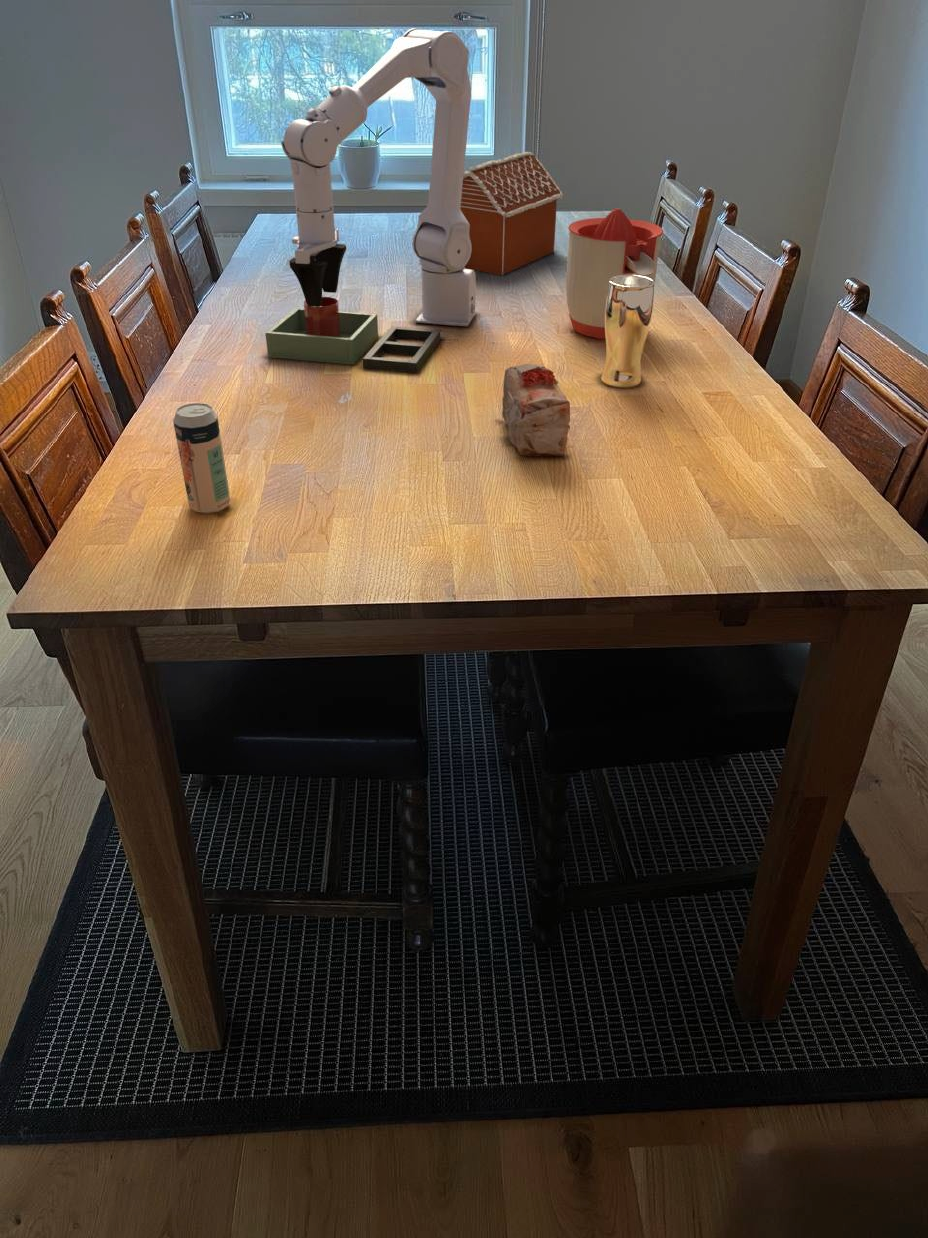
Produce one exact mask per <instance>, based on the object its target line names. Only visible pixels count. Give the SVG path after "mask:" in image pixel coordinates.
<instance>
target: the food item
mask: <svg viewBox="0 0 928 1238" xmlns="http://www.w3.org/2000/svg"><path fill="white" fill-rule="evenodd" d="M554 372H555V371H552V370H550V369H549V368H547V367H545V366H543V365H539V364H538V365H537V364H532V363H531V364H530V363H529V364H528V363H525V364H520V365H515V366H510V367H507V368H506V369H505V370H504V376H503V377H504V378H503V385H502V386H503V387H502V391H503V396H502V412H501V413H502V414H501V415H502V418H503V420H504V422H505V424H506V425H507V430H508V433H507V435H508V442H510V443H511V444H512V445H513V446H514V447H515V449H517V450H518V454H519V455H520V456H528V457H559V456H562V457H563V456H564V454H565V452H566V448H567V442H568V435H569V430H570V429H571V425H570V422H571V402H570V401H569V400H568V398H567V396H566V395H565V393H564V391H563V390H562V389H561V388H560V386H559V385H558V384H559V380H557V378H555V375H554Z"/></svg>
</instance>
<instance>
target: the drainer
mask: <svg viewBox="0 0 928 1238" xmlns="http://www.w3.org/2000/svg"><path fill="white" fill-rule="evenodd" d="M396 338H399V339H411V340H423V341H424V343H413V342H399V341H395V340H396ZM441 339H442V330H441V329H430V328H418V327H406V326H405V327H404V326H394V325H392V326H390V327H389V329H387V331H386V332H385V333H384V334H383V335H382V336H381V337H380V339H378V340H377V342H376V343H375V344H374V345H373V347H371V348H370V350H368V352H367V353H366V354H365V355H364V357H363V358H362V368H364V369H373V370H374V369H375V370H385V371H396V372H397V371H398V372H407V373H408V372H409V373H418V371H419V370H420V369H421V367H422V366H423V364H425V361H426V360H427V358H428V357H429V356H430V355H431V354H432V352H433V350H434V349H435V348H436V346H437V345H438V344H439V342H440V341H441ZM384 353H388V354H399V355H409V356H410V355H411V356H413V357H412V358H411V359H403V358H401V359H400V358H389V357H381V356H382V355H383V354H384Z"/></svg>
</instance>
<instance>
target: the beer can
mask: <svg viewBox="0 0 928 1238" xmlns="http://www.w3.org/2000/svg"><path fill="white" fill-rule="evenodd" d="M172 423H173V428H174V429H173V430H174V434H175V439H176V445H177V449H178V454H179V460H180V465H181V470H182V471H181V472H182V475H183V481H184V486H185V492H186V497H187V502H188V507H189V509H191V510H192V511H194V512H197V513H199V514H204V515H205V514H207V515H208V514H216V513H219V512H221V511H223V510H224V509H225V508H227V507H228V506H229V505H230V504H231V502H232V501H231V494H230V487H229V480H228V475H227V469H226V468H227V467H226V461H225V456H224V455H225V454H224V449H223V444H222V443H223V442H222V437H221V430H220V424H219V418H218V414H217V413H216V411H215V410H214V409H213V407H212V406H211V405H209V404H207V403H200V402H193V403H187V404H186V403H185V404H183V405H181V406H179V407H177V408H176V410H175V413H174V417H172Z"/></svg>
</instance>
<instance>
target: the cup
mask: <svg viewBox="0 0 928 1238" xmlns="http://www.w3.org/2000/svg"><path fill="white" fill-rule="evenodd" d="M303 308H304V311H305V322H306V332H307V335H317V336H329V337H341V336H340V322H339V311H340V309H339V300H338V299H336V298H335V297H331V296H322V303H321V306H320V307H315V306H308V305H307V303H306V300H305V299H304V301H303Z"/></svg>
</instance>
